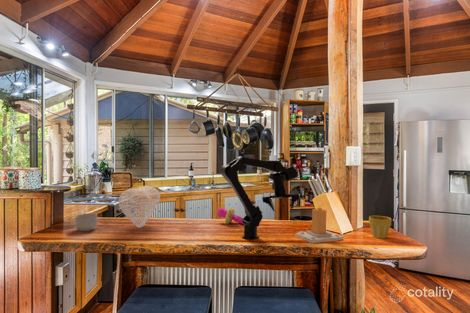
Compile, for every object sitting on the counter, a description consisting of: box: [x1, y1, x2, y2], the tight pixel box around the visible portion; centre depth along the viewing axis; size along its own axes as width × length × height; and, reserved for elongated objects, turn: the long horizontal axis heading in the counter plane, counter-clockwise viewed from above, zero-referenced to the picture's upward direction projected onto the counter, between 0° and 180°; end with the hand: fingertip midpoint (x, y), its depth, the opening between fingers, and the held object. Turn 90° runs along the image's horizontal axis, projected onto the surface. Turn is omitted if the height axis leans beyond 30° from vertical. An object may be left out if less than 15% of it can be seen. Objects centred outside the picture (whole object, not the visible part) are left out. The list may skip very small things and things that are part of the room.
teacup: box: [74, 212, 98, 232], centre depth 167 cm, size 14×11×8 cm
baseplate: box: [294, 230, 344, 244], centre depth 155 cm, size 18×14×3 cm
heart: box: [118, 185, 161, 229], centre depth 172 cm, size 28×16×22 cm, turn 168°
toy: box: [216, 207, 244, 225], centre depth 185 cm, size 10×18×10 cm, turn 70°
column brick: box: [311, 207, 327, 235], centre depth 155 cm, size 5×5×13 cm
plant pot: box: [368, 215, 392, 239], centre depth 158 cm, size 10×10×10 cm
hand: (282, 210), depth 165 cm, fingers open, 9 cm apart
